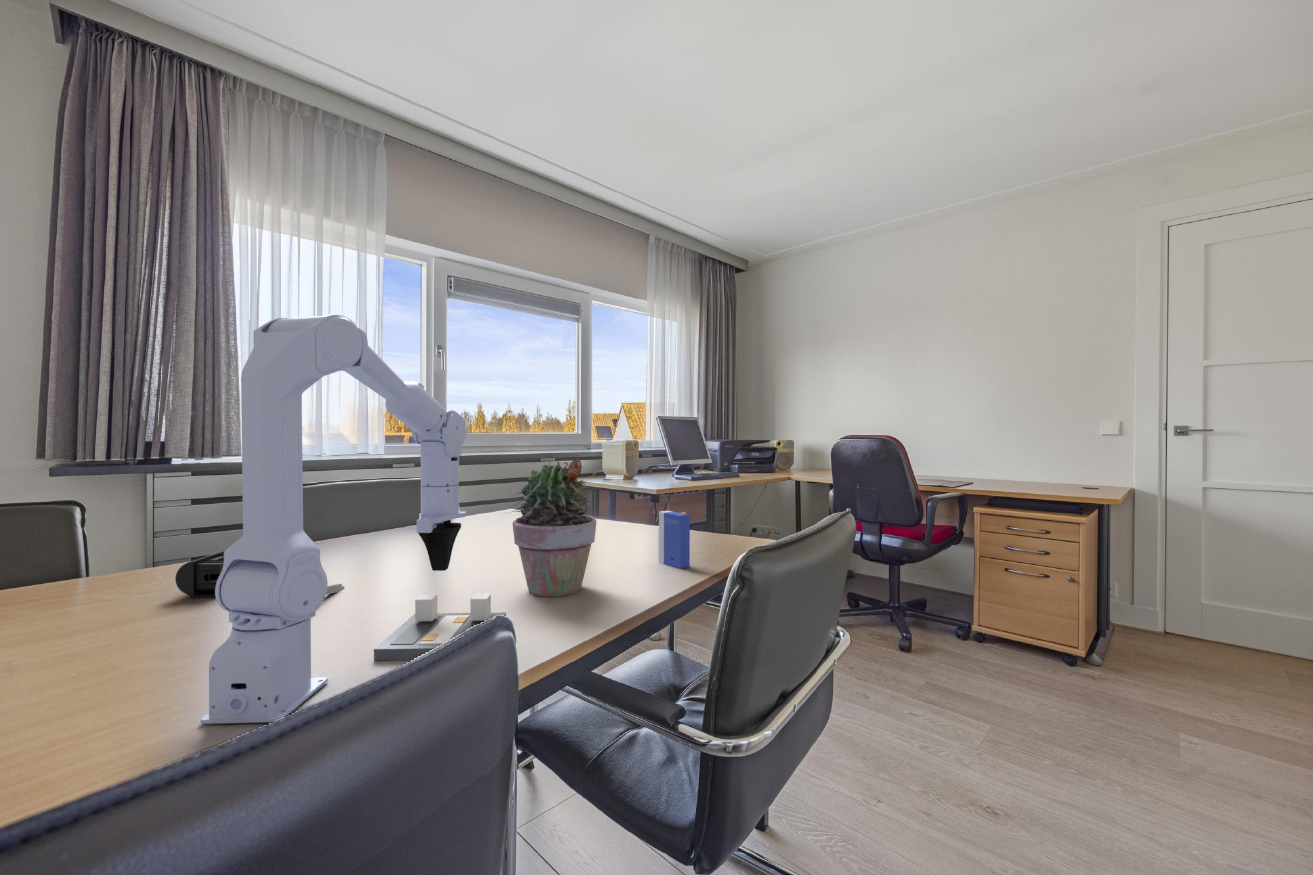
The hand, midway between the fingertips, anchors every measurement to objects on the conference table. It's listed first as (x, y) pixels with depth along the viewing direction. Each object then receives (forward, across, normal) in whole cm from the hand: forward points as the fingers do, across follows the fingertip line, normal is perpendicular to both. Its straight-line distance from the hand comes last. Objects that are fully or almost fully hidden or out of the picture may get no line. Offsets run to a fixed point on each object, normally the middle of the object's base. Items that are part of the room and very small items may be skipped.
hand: (440, 569), depth 89 cm
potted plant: (+8, +15, -16) cm, 23 cm away
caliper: (+8, +8, +24) cm, 26 cm away
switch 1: (+6, -6, 0) cm, 8 cm away
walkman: (+8, +33, -40) cm, 53 cm away
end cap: (+8, +16, +46) cm, 50 cm away
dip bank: (+8, -10, -4) cm, 13 cm away
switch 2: (+6, -6, -8) cm, 12 cm away
